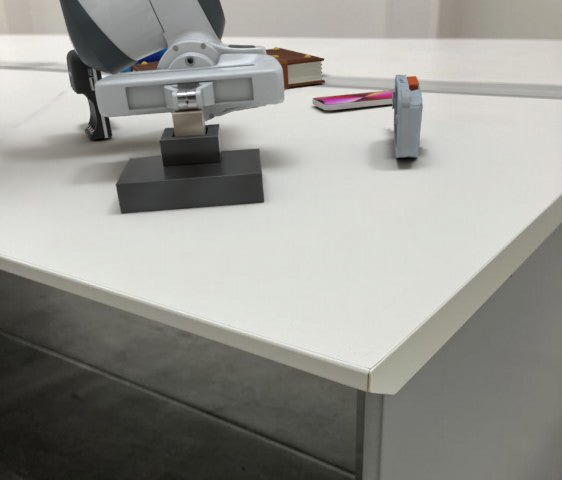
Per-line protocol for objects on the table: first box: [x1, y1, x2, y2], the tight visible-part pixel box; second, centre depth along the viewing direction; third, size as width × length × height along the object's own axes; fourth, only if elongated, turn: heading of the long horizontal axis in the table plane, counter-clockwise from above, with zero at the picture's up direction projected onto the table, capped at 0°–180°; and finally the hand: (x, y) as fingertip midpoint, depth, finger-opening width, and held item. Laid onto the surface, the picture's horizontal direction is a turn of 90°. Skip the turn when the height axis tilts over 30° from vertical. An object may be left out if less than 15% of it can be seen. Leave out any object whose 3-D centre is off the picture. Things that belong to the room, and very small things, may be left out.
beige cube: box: [171, 109, 206, 137], centre depth 70 cm, size 3×3×3 cm
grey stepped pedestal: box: [115, 123, 265, 214], centre depth 70 cm, size 14×11×6 cm
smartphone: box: [312, 89, 395, 111], centre depth 106 cm, size 7×1×15 cm
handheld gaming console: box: [391, 74, 424, 160], centre depth 77 cm, size 14×3×8 cm, turn 174°
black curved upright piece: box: [65, 48, 113, 140], centre depth 95 cm, size 7×4×11 cm, turn 22°
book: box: [130, 46, 326, 90], centre depth 128 cm, size 23×32×5 cm
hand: (187, 101), depth 68 cm, fingers closed
